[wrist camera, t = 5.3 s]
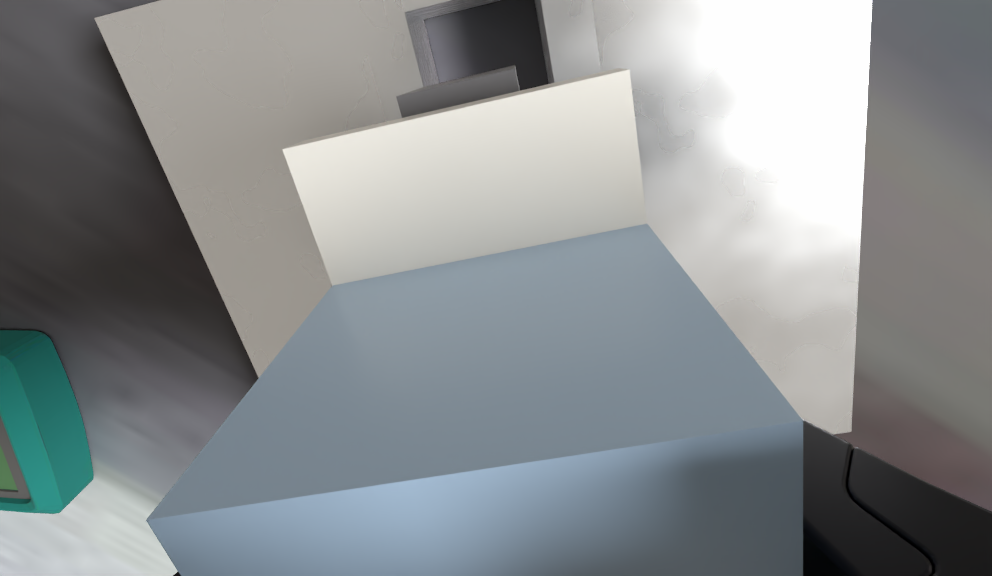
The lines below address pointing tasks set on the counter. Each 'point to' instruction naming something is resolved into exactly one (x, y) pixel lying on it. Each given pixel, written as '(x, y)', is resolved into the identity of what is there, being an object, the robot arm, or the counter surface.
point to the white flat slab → (568, 54)
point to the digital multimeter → (38, 428)
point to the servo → (496, 369)
